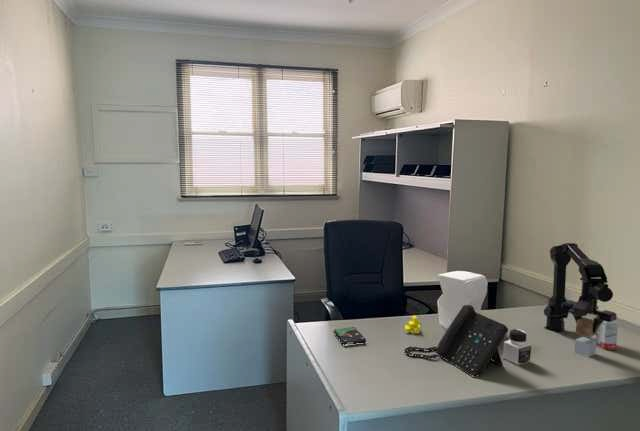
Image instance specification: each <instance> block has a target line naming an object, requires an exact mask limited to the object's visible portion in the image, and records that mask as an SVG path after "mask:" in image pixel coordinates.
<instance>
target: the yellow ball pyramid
mask: <svg viewBox="0 0 640 431" xmlns="http://www.w3.org/2000/svg"><path fill="white" fill-rule="evenodd" d="M420 325H422V324H421V321H420V320H419V318H418V317H417V316H416V315H413V316H411V320H409V321H408V323H407V324H405V325H404V326H405V327H404V329H403V330H404V331H406V332H409V331H411V332H412V333H415V332H420V333H421V329H422V328H421V326H420Z"/></svg>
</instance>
